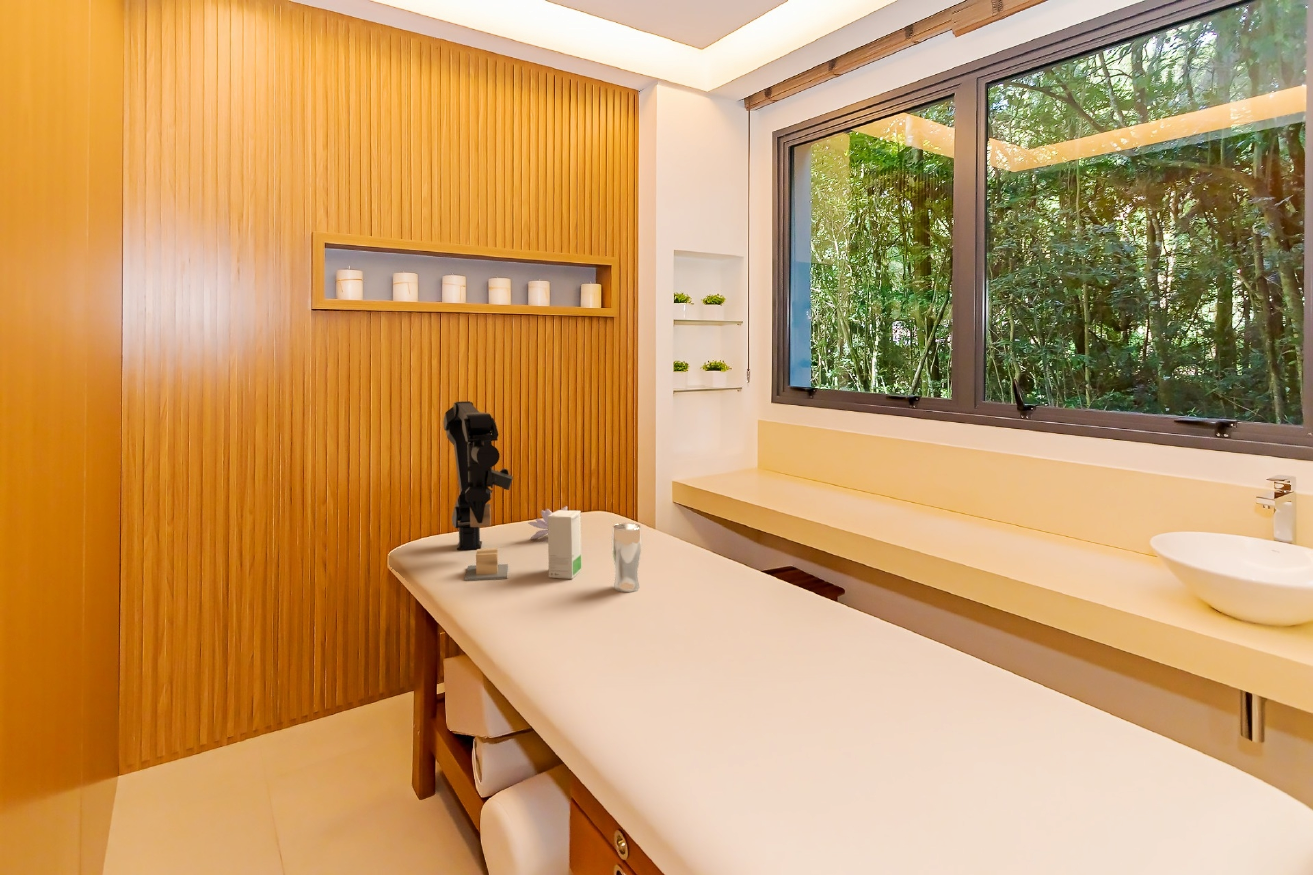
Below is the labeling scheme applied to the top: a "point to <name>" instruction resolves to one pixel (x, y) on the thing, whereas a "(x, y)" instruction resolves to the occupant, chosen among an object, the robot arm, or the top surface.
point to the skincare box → (564, 544)
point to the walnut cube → (486, 518)
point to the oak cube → (486, 561)
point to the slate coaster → (472, 574)
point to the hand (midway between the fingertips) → (480, 520)
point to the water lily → (542, 523)
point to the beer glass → (626, 555)
